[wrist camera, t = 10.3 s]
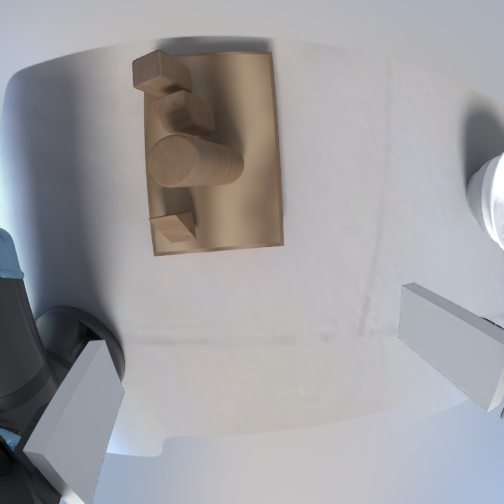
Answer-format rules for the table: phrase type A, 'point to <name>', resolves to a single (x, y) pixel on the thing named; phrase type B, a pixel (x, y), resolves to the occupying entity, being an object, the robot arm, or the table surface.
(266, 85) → the plinth
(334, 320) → the table surface
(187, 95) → the wooden block set
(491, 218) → the bowl
